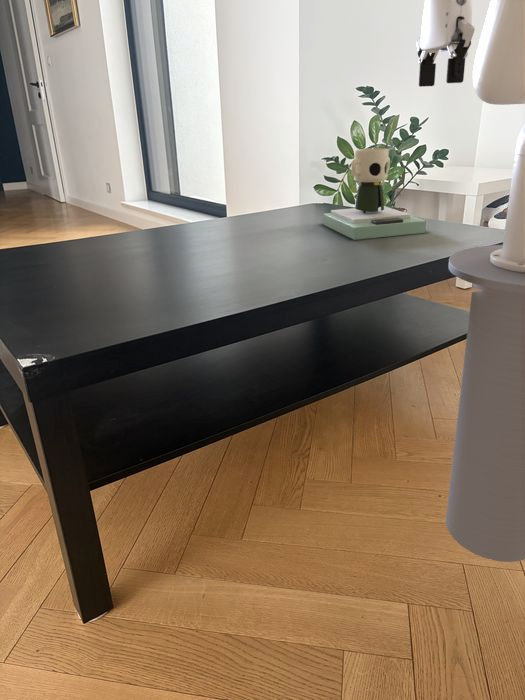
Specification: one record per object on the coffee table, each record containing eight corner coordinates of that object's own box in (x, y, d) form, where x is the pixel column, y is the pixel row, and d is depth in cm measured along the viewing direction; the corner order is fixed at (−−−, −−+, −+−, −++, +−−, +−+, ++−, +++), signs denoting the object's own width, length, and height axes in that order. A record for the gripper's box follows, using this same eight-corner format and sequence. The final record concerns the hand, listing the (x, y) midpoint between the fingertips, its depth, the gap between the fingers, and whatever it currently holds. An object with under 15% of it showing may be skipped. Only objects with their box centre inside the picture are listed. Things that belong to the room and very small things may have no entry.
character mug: (362, 217, 115) (364, 152, 110) (339, 213, 121) (340, 150, 116) (398, 210, 121) (402, 148, 116) (375, 207, 126) (377, 147, 121)
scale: (425, 232, 115) (426, 216, 113) (354, 240, 111) (354, 223, 110) (386, 218, 131) (387, 204, 129) (323, 224, 127) (323, 210, 126)
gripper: (497, -34, 91) (485, 80, 98) (440, -11, 107) (433, 86, 113) (457, -35, 90) (448, 82, 96) (405, -11, 105) (400, 88, 112)
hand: (440, 84), depth 105 cm, fingers open, 9 cm apart
